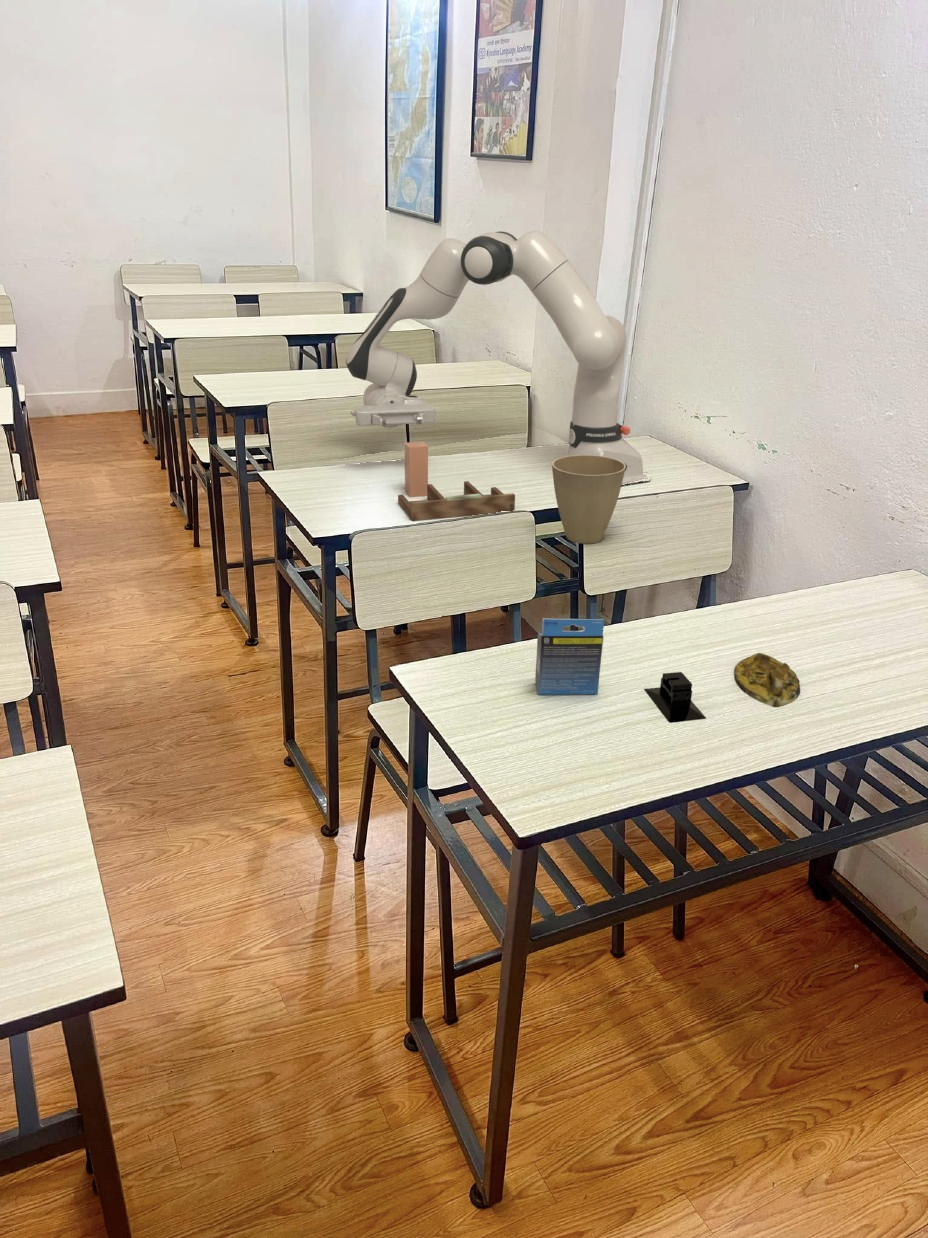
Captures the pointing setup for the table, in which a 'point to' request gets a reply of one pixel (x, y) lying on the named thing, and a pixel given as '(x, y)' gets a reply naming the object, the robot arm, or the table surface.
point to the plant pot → (586, 494)
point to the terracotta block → (416, 469)
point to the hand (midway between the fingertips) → (402, 421)
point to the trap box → (457, 504)
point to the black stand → (675, 698)
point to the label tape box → (569, 657)
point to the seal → (767, 680)
